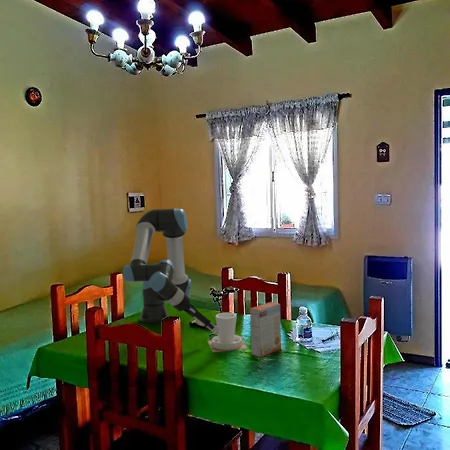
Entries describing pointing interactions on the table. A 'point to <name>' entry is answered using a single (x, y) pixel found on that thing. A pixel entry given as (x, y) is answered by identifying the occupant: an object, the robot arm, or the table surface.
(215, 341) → the bowl
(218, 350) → the cork mat
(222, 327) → the foam cup
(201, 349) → the table surface
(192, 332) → the table surface
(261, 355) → the cracker box
